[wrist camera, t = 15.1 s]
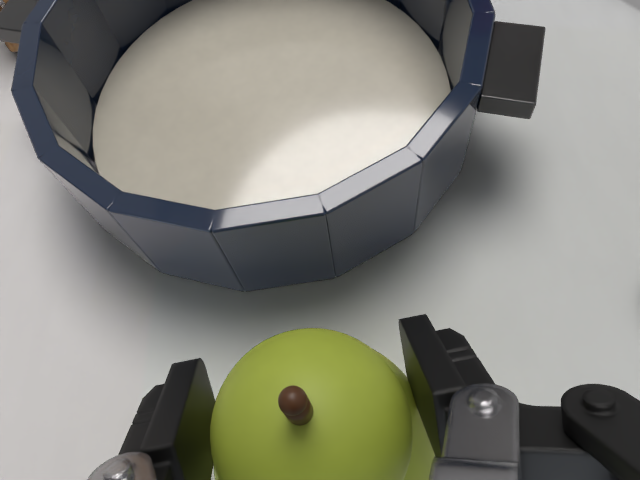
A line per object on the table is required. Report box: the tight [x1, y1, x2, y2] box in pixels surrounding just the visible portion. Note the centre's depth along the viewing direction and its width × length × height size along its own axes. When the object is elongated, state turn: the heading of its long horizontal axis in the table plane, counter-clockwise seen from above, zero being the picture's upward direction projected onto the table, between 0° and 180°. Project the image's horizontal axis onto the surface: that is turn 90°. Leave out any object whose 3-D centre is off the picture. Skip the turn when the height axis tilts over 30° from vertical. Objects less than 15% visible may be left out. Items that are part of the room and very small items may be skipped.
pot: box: [0, 0, 545, 291], centre depth 23 cm, size 21×18×5 cm
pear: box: [210, 328, 435, 480], centre depth 13 cm, size 6×6×10 cm
